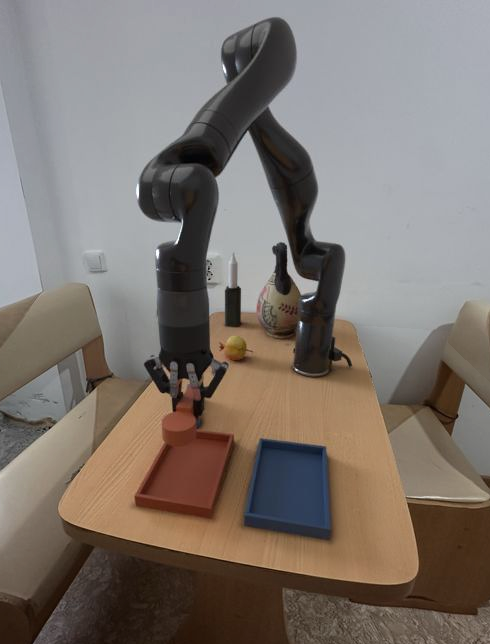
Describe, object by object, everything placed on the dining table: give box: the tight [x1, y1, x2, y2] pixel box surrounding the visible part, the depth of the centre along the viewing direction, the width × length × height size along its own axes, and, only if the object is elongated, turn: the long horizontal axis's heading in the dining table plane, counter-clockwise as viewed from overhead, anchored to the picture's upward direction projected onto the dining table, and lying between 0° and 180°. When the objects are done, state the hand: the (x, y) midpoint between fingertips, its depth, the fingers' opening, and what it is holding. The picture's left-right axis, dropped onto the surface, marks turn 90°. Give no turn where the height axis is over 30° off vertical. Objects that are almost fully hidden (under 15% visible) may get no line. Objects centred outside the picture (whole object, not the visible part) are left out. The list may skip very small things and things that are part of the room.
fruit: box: [218, 335, 254, 361], centre depth 105 cm, size 7×7×10 cm
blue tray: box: [243, 437, 332, 541], centre depth 61 cm, size 18×12×2 cm
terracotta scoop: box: [160, 383, 197, 447], centre depth 60 cm, size 13×5×4 cm, turn 168°
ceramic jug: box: [255, 241, 302, 340], centre depth 117 cm, size 17×15×30 cm
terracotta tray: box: [133, 429, 235, 520], centre depth 65 cm, size 18×12×2 cm
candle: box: [224, 251, 242, 328], centre depth 127 cm, size 5×5×25 cm
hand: (188, 414), depth 61 cm, fingers closed on terracotta scoop, 2 cm apart
